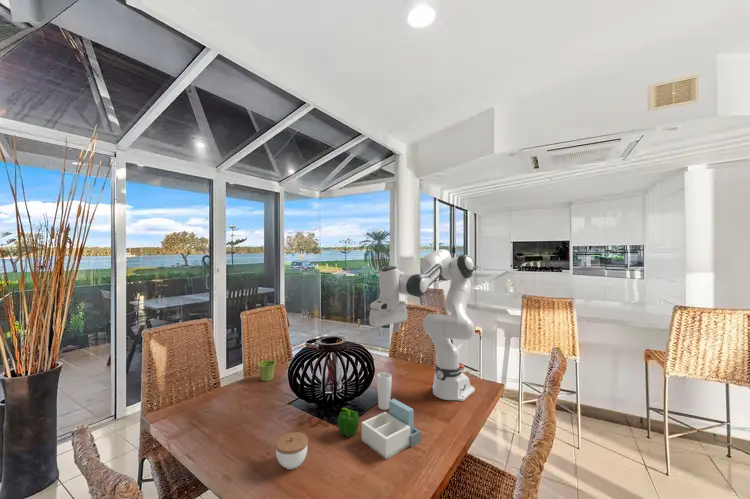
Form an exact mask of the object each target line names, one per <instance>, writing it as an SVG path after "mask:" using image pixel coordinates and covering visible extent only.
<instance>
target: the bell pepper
mask: <svg viewBox="0 0 750 499" xmlns="http://www.w3.org/2000/svg"><path fill="white" fill-rule="evenodd" d="M341 410H342V411H340V412H339V415H338V416H337V425H338V429H339V433H340V434H341V435H342V436H345V437H347V438H351V437H353V436H355V435H356V433H357V432H358V428H359V423H360V422H359V421H360V417H359V412H358V411H357V410H352V409H351V408H349V409H348V408H347V407H341Z"/></svg>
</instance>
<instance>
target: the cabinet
mask: <svg viewBox="0 0 750 499" xmlns="http://www.w3.org/2000/svg"><path fill="white" fill-rule="evenodd" d="M361 441H362V442H363V443H364V444H366V445H367V446H368V447H369V448H370V449H372V450H373V451H375V452H376V453H378V455H380V456H381V457H382V458H383V459H385V460H388V459H390V458H391V457H393V456H395V455H396V454H398V453H400V452H401V451H403V450H406V449H407V448H409V447H410V448H413V447H415V446H416V445H418V444H420V443H422V431H421V430H420V429H418V428H417V427H415V426H414V433H413V434H411V435H410V426H408V425H406V424H405V423H403V422H401V421H400V420H398V419H396V418H395V417H393V416H391V415H390V414H389V412H386V411H384V412H381V413H379V414H377V415H375V416H373V417H371V418H368V419H365V420H364V421H361Z"/></svg>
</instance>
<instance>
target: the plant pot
mask: <svg viewBox="0 0 750 499" xmlns="http://www.w3.org/2000/svg"><path fill="white" fill-rule="evenodd" d="M276 364H277V362H276V361H275V360H270V359H269V360H262V361H259V362H258V363H257V367H258V368H259V373H260V380H261V381H263V382H264V381H266V382H270V381H272V379H273V378H274V373H275V372H274V371H275V366H276Z"/></svg>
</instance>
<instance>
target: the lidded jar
mask: <svg viewBox="0 0 750 499" xmlns="http://www.w3.org/2000/svg"><path fill="white" fill-rule="evenodd" d="M308 444H309V438H308V436H307V435H306V434H305V433H303V432H300V431H294V432H287V433H285V434H283V435H281V436H280V437H278V438H277V439H276V441H275V444H274V445H275V455H276V459H277V462H278V464H279V465H281V466H282V467H283V468H284V467H285V468H287V469H286V470H289V469H290V470H295V469H297V468H299V467H300V466H301V464H302V463H303V462H304V460H305V459H306V457H307V453H308ZM298 466H299V467H298ZM285 468H284V469H285ZM294 468H295V469H294Z"/></svg>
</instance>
